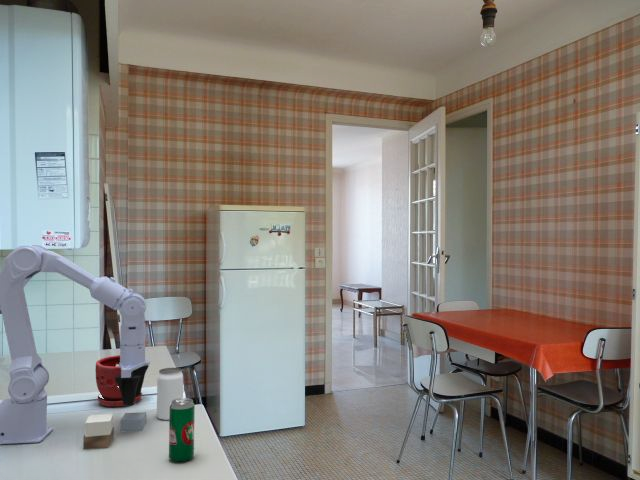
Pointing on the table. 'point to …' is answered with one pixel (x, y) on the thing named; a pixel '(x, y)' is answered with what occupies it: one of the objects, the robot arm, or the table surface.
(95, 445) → the walnut block
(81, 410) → the table surface
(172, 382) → the can
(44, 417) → the robot arm
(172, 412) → the soda can
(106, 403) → the plant pot
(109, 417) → the cream block
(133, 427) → the slate block
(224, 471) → the table surface
